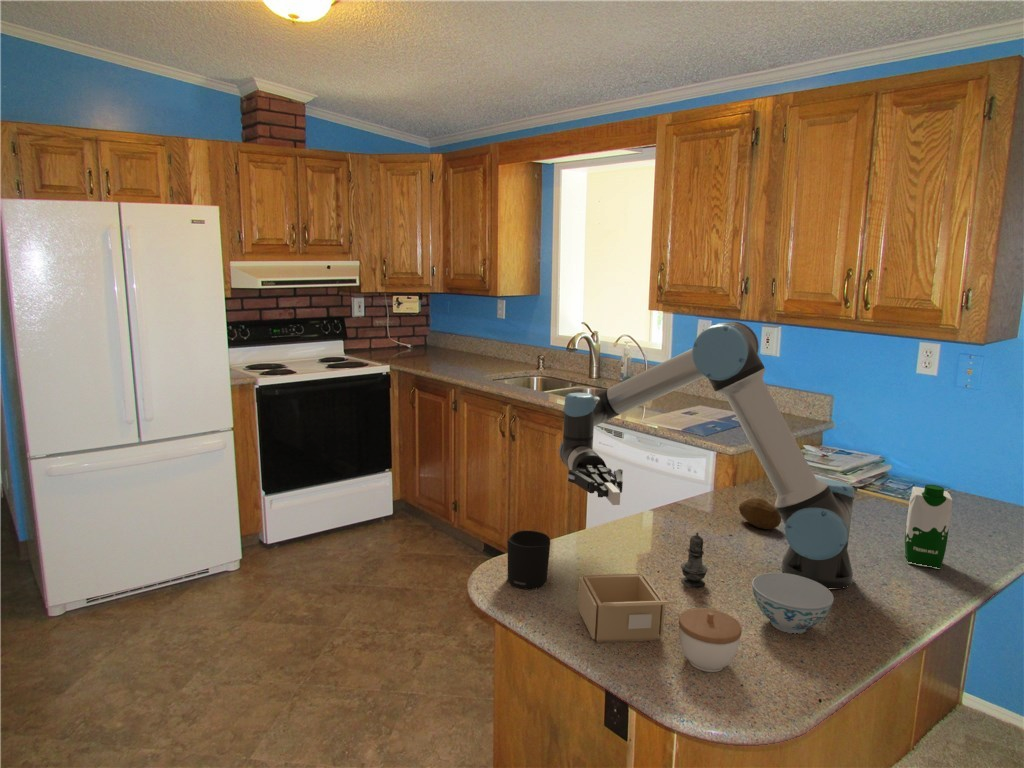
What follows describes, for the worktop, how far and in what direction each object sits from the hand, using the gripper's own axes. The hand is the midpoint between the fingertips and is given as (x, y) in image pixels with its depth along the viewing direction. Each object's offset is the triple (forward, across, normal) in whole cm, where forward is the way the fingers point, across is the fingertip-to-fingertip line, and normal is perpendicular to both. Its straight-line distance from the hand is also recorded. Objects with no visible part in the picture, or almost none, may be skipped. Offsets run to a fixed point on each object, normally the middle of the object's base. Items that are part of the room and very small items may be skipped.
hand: (616, 498), depth 139 cm
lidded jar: (+23, -11, -23) cm, 34 cm away
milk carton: (-15, -85, -24) cm, 89 cm away
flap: (+15, +1, -15) cm, 21 cm away
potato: (-41, -55, -23) cm, 72 cm away
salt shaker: (-8, -22, -23) cm, 33 cm away
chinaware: (+12, -33, -24) cm, 42 cm away
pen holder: (-11, +16, -23) cm, 30 cm away
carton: (+9, +1, -23) cm, 25 cm away
